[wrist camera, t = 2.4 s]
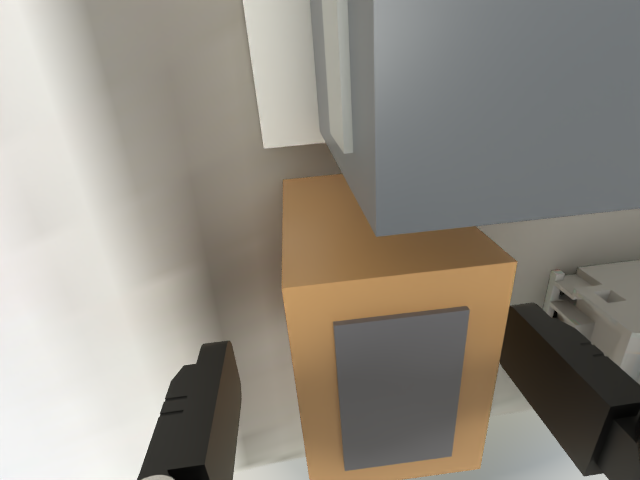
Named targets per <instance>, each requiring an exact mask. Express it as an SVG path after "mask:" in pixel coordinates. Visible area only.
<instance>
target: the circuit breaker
mask: <svg viewBox="0 0 640 480" xmlns="http://www.w3.org/2000/svg"><path fill="white" fill-rule="evenodd" d="M564 275H565V273H564V272H562V271H561V270H553V271H551V274H550V279H549V284H548V288H547V293H546V297H545V302H544V306H543V310H544V311H545V312H546V313H547V314H548V315H549V316H550V317H551V318H553V313H554V310H555V311H556V312H557V317H556V318H557V319H559V320H561V321H563V322H564V323H566V324H568V325H570V326H572V327H574V328H576V329H577V330H578V331H579V332H580V333H581V334H583V335H584V336H585V337H586V338H587V339H588V340H589V341H591V344H592V345H595V346H596V347H597V348H598V349H600V350H601V351H602V352H603V353H604V356H608V357H609V358H610V359H611V360H612V361H613V362H614V363H616V364H617V365H618V366H619V367H620V368H621V369H622V370H624V371H625V372H626V373H627V374H628V375H629V376H630V377H632V378H633V379H634V380H635V381H636V382H637V383H638V384H639V385H640V260H634V261H626V262H618V263H610V264H601V265H593V266H585V267H578V269H577V273H576V274H573V275H565V276H564ZM560 290H561V291H562V292H563V293H565V294H566V295H559V293H560Z"/></svg>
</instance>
